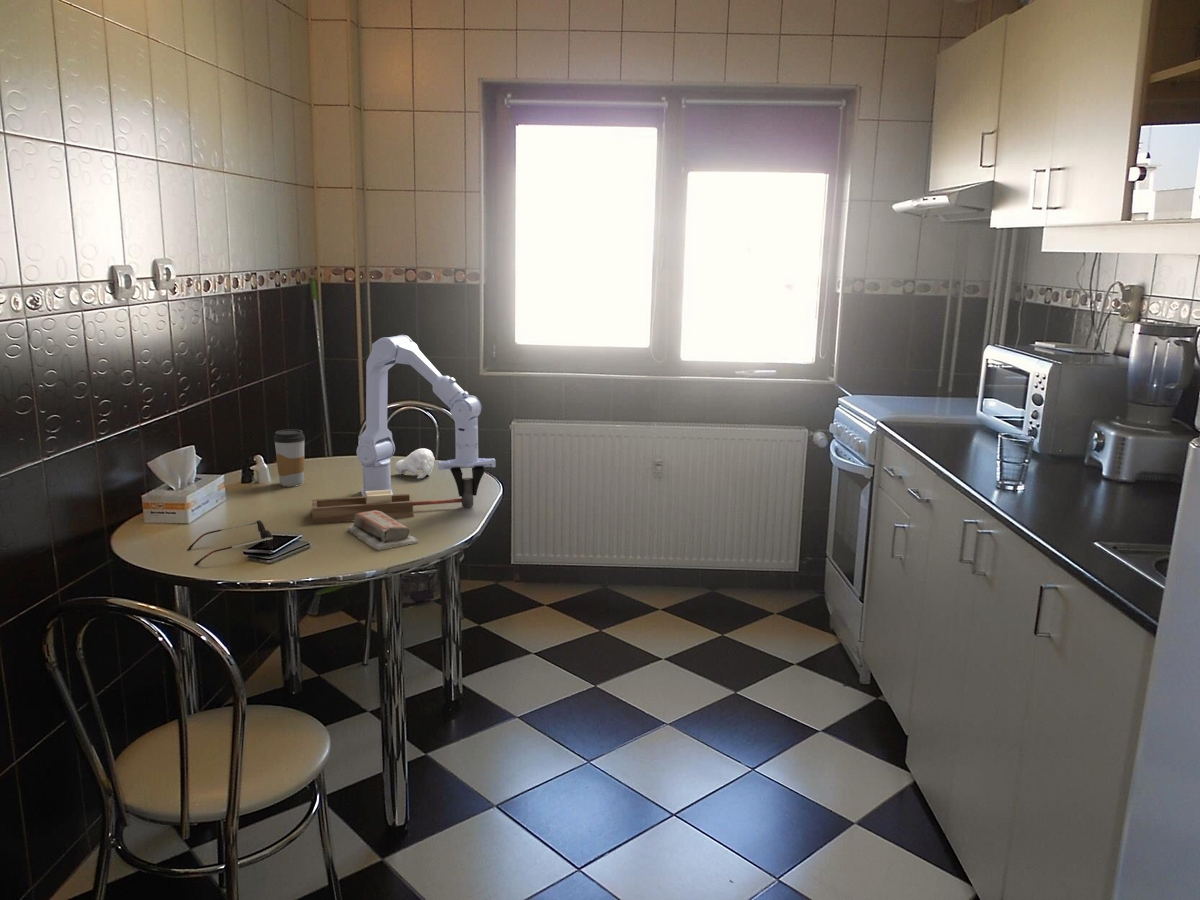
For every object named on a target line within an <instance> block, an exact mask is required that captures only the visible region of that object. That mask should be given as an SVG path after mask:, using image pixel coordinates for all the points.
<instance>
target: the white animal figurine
mask: <svg viewBox="0 0 1200 900" xmlns="http://www.w3.org/2000/svg"><path fill="white" fill-rule="evenodd" d="M435 460H436V459H435V456H434V453H433V452H432V450H430V449H428V448H424V447H423V448H418V449H415V450H414V451H412V452H411V453H410V454H409V455H407V456H406V457H405V458H404V459H400V460H398V461H396V462H395V464H394V465H395V466H394V467H395V470H396V471H397V473H398V474H399V476H402V475H401V474H405V475H406V474H407V472H409V473H412V474H414V475H418V476H417V477H416V479H417V478H422V479H425V477H427V476H426V475H429V476H430V475H431V473H432V471H433V469H434V466H435V465H434V464H435ZM419 470H421V471H422V472H421V473H419V472H418V471H419ZM418 473H419V474H418Z"/></svg>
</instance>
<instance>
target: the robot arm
mask: <svg viewBox="0 0 1200 900" xmlns="http://www.w3.org/2000/svg"><path fill="white" fill-rule="evenodd" d="M365 364H366V367H365V368H366V371H365V374H366V380H365V381H366V383H365V386H366V387H365V388H366V389H365V392H366V393H365V395H366V397H365V430H364V431H363V432H362V433H361V435H359V443H358V445H357V448H356V458H357V459H358V461H359V462H360V463H361V466H362V480H363V481H362V484H363V486H362V487H363V488H362V489H360V492H361V497H364V496H366V494H365V491H377V490H390V492H391V495H394V493H393V490H392V483H391V481H392V480H391V478H392V477H391V462H392V457H393V456H394V454H395V452H396V446H395V442H394V439H393V433H392V431H391V430H390V429H389V428H388V390H389V389H388V387H389V384H388V383H389V382H388V381H389V380H388V379H389V378H388V377H389V374H388V373H389V370H390V369H391V368H392V367H394V365H396V364H401V365H409V366H411V367H412V368H413V369H414V370H415V371H416V372H417V373H419V375H421V376H422V377H423V378H424V379H426V380H427V381H428V382H429V383H430V384H431V385H432V392H433V394H435V395H436V396H437V397H438V398H439V399H440V400H441V402H443V403H444V404H445V405H446V406H447V408H449V409H450V415H451V416H452V418H453V421H454V426H455V427H454V428H455V430H454V431H455V432H454V433H455V458H454V459H448V460H439V461H437V463H438V465H437V467H438V470H439V471H444V470H450V472H451V474H452V477H453V479H454V481H455V485H456V487H457V492H458V496H459V497H461V498H462V496H463V491H462V478H463V471H462V469H471V474H472V477H471V478H473V497H475V496H476V497H477V494H478V488H479V484H480V482H481V479H482V478H483V476H484V474H485V468H496V464H497V463H496V459H495V458H484V457H483V458H482V457H481V458H480V457H479V416H480V415H481V413H482V403H481V401H480V400H479V398H478V397H477V396H475V395H470V394H469V392H468V391H467V390H464V389H463V388H462V387H461V386H460V385H459V384H458V383H457V382H456V381H457V380H456V379H455V378H454V377H451V376H450V375H442V374H441V372H440V371H439V370H438V369H437V368H436V367H435V366H434V364H432V363H431V361H430V360H429V359H428V357H426V355H424V353H423V352H422V351H421V350H420V348H419V346H418V344H417V343H416V342H414V341H413V340H412V338H411V337H409V336H408V335H405V334H398V335H396V336H390V337H389V336H388V337H385V336H384V337H380V338H378V339H377V340H376V341H374V342H373V343H371V352H370V353H369V355H368V358H367V360H366V363H365Z"/></svg>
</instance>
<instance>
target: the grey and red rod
mask: <svg viewBox="0 0 1200 900" xmlns="http://www.w3.org/2000/svg"><path fill="white" fill-rule="evenodd" d="M462 491H463V496H461V498H452V499H451V498H448V499H434V500H420V501H419V500H418V501H417V500H416V501H413V507H414V506H425V505H426V506H427V505H430V506H431V505H444V504H456V503H461V506H462V507H464V508H466V507H467V508H468V507H469V508H470V507H473V506H474V495H473V477H462ZM365 494H366V504H371V503H386V502H392V495H391V492H390V490H377V491H365Z"/></svg>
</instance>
